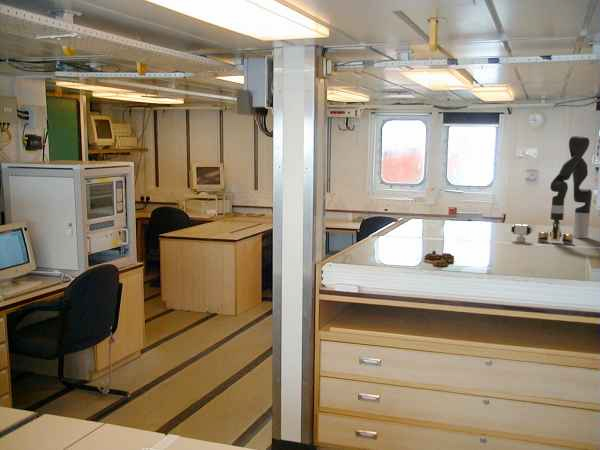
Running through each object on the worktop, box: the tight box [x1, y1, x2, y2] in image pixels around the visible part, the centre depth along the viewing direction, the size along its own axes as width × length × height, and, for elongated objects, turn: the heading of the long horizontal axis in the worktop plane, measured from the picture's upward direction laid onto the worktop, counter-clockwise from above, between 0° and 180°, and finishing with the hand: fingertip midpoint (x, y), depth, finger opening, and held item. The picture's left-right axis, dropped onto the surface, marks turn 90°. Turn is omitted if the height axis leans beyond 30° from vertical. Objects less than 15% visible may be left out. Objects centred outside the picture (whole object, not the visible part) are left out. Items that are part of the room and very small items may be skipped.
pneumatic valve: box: [510, 223, 533, 243], centre depth 397 cm, size 6×12×12 cm, turn 57°
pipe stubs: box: [537, 230, 574, 246], centre depth 393 cm, size 6×20×7 cm, turn 61°
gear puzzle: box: [423, 250, 455, 267], centre depth 324 cm, size 31×16×4 cm, turn 167°
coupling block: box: [549, 228, 563, 242], centre depth 393 cm, size 7×5×7 cm
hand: (555, 238), depth 393 cm, fingers closed on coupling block, 5 cm apart
